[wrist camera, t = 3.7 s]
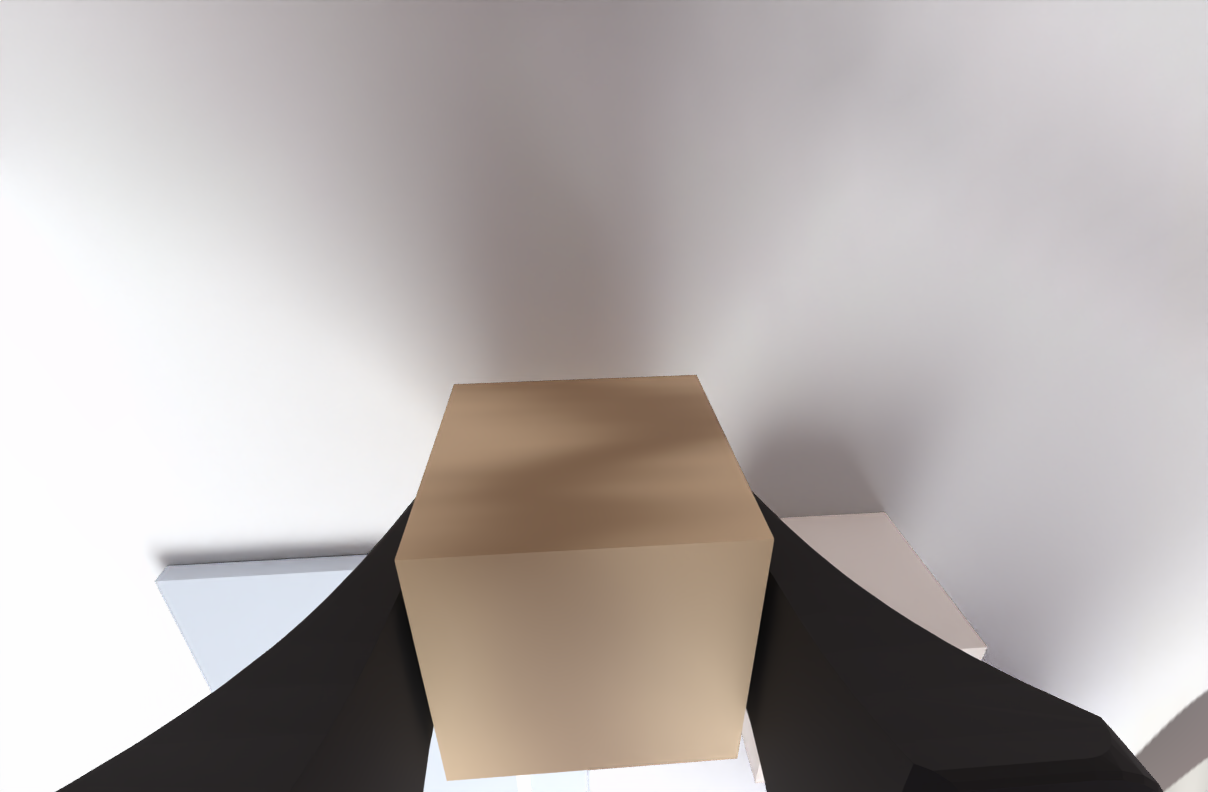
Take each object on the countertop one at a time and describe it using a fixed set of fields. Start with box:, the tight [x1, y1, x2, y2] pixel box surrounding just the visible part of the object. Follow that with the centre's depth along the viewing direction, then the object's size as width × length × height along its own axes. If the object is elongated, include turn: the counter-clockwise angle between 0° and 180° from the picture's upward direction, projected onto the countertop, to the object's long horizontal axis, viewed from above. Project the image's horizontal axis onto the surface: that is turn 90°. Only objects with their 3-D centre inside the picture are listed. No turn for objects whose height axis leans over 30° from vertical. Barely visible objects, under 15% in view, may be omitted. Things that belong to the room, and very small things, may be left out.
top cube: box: [741, 512, 987, 783], centre depth 17 cm, size 5×5×5 cm
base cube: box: [395, 375, 774, 781], centre depth 11 cm, size 5×5×5 cm
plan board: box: [155, 555, 588, 792], centre depth 21 cm, size 12×15×1 cm
